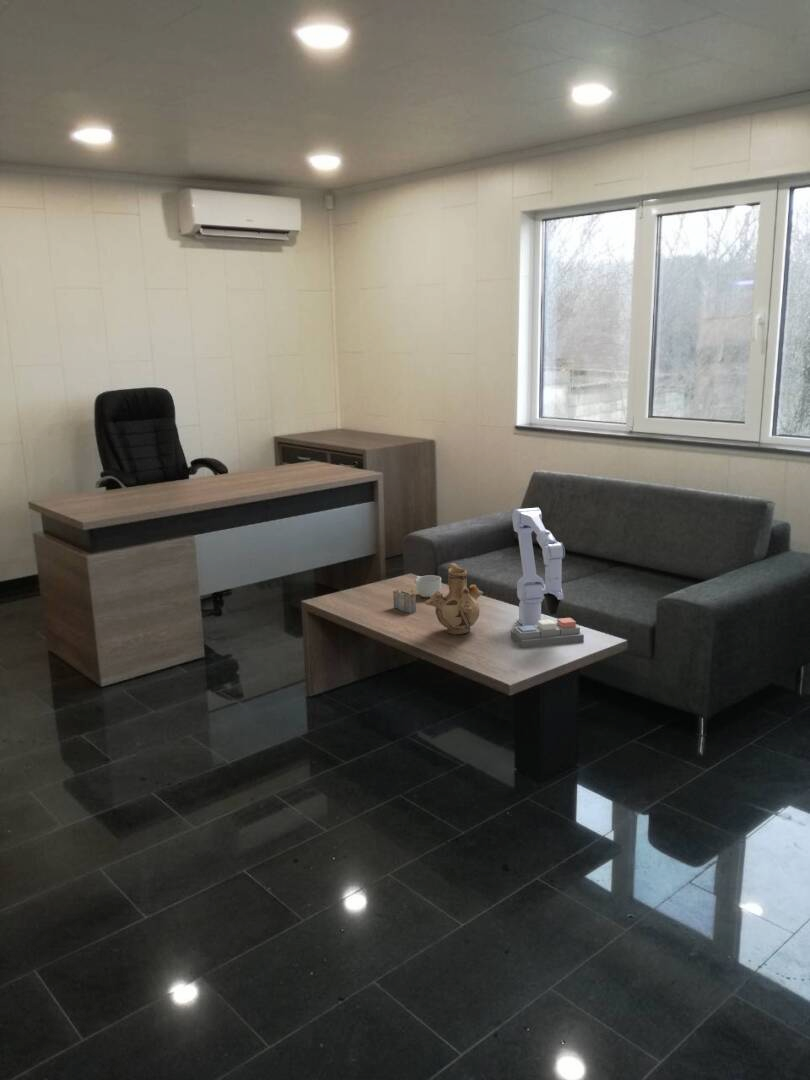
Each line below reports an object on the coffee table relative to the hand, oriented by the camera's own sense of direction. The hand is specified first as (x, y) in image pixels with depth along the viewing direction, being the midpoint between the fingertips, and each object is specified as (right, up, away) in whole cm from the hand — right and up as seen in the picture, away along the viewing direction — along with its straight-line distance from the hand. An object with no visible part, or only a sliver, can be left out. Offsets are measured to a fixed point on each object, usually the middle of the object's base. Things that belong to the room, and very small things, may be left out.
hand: (552, 613), depth 305 cm
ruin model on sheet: (-53, -3, +41) cm, 67 cm away
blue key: (-9, -7, -1) cm, 12 cm away
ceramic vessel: (-34, -8, +12) cm, 36 cm away
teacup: (-43, +2, +62) cm, 75 cm away
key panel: (-2, -9, +1) cm, 10 cm away
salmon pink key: (+5, -5, +2) cm, 8 cm away
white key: (-2, -5, +1) cm, 6 cm away
